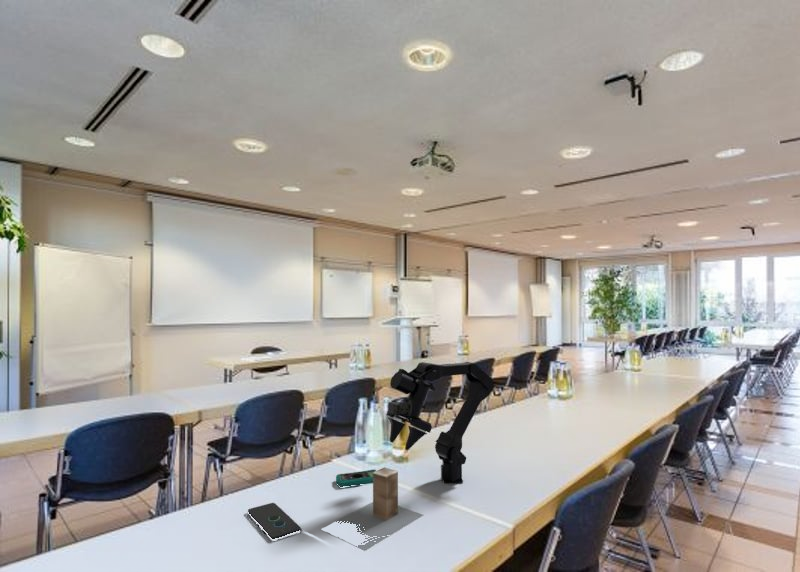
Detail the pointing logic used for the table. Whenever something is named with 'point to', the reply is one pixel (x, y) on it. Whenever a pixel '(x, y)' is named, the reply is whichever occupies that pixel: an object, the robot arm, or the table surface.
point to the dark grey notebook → (274, 520)
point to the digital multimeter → (355, 478)
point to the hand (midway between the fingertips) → (398, 445)
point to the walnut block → (385, 493)
